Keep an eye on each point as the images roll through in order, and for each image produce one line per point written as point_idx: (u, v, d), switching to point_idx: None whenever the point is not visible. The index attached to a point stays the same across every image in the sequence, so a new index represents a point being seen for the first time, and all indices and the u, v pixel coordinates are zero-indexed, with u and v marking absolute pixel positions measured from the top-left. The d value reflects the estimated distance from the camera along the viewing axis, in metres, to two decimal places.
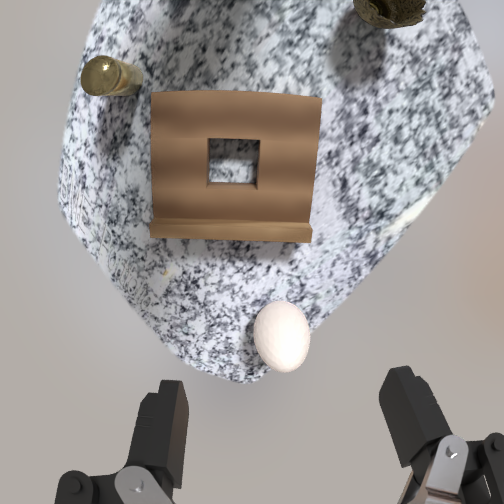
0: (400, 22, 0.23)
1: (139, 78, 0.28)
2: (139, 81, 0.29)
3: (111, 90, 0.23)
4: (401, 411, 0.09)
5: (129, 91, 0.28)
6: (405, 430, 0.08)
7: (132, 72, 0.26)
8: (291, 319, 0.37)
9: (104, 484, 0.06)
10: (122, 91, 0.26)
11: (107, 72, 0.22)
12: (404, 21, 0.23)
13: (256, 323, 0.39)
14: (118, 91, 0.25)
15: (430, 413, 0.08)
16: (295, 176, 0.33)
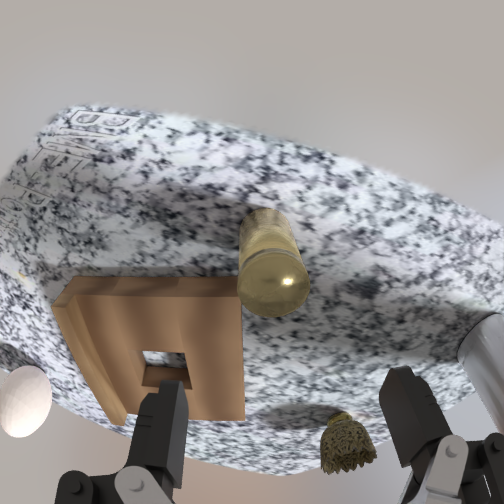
0: None
1: None
2: None
3: None
4: (401, 411, 0.09)
5: None
6: (405, 430, 0.08)
7: None
8: (42, 415, 0.27)
9: (104, 484, 0.06)
10: None
11: (276, 302, 0.17)
12: None
13: (21, 383, 0.26)
14: None
15: (430, 413, 0.08)
16: None
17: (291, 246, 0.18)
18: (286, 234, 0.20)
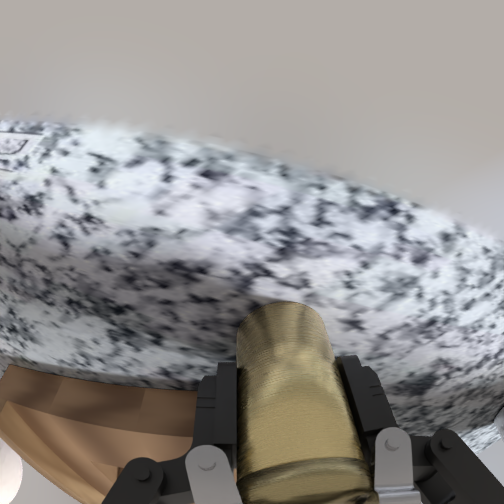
0: None
1: None
2: None
3: None
4: None
5: None
6: None
7: None
8: (13, 490, 0.16)
9: (170, 469, 0.07)
10: None
11: None
12: None
13: None
14: None
15: (372, 403, 0.09)
16: None
17: (345, 429, 0.07)
18: (331, 387, 0.09)
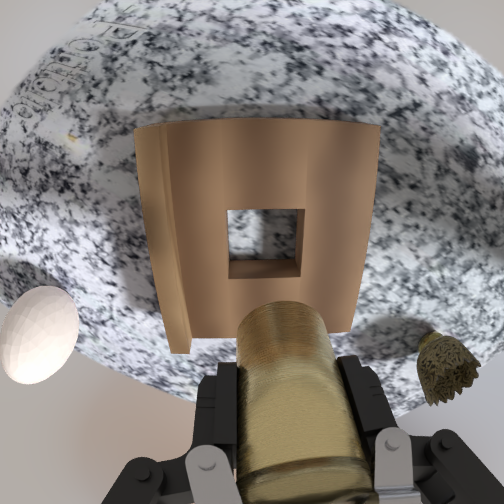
0: None
1: None
2: None
3: None
4: None
5: None
6: None
7: None
8: (65, 349, 0.22)
9: (171, 469, 0.07)
10: None
11: None
12: None
13: (40, 300, 0.22)
14: None
15: (372, 403, 0.09)
16: None
17: (345, 428, 0.07)
18: (332, 386, 0.09)
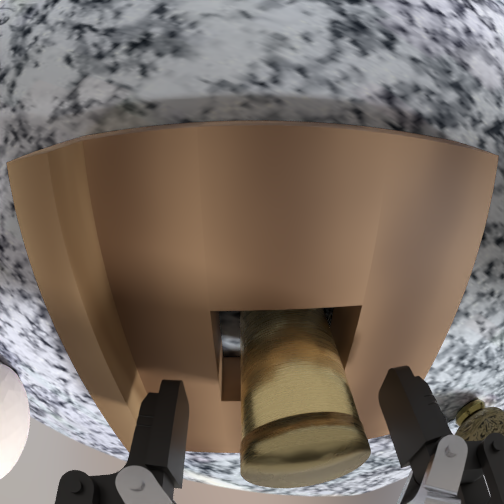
0: None
1: None
2: None
3: None
4: (400, 411, 0.09)
5: None
6: (404, 430, 0.08)
7: None
8: (12, 453, 0.12)
9: (105, 484, 0.06)
10: None
11: (307, 477, 0.08)
12: None
13: None
14: None
15: (429, 413, 0.08)
16: None
17: (340, 389, 0.09)
18: (327, 353, 0.10)
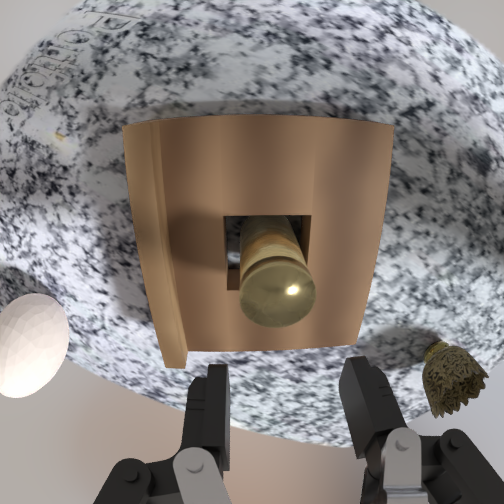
0: None
1: None
2: None
3: None
4: (355, 401, 0.10)
5: None
6: (358, 420, 0.09)
7: None
8: (54, 362, 0.20)
9: (159, 470, 0.07)
10: None
11: (280, 313, 0.16)
12: None
13: (27, 310, 0.20)
14: None
15: (382, 404, 0.09)
16: (252, 332, 0.24)
17: (296, 253, 0.17)
18: (290, 239, 0.18)
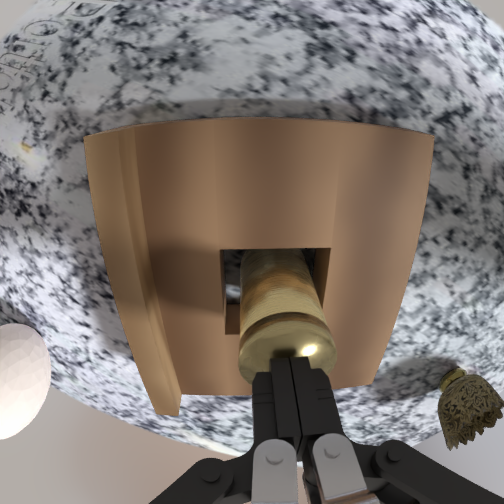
0: None
1: None
2: None
3: None
4: None
5: None
6: None
7: None
8: (34, 403, 0.16)
9: (236, 467, 0.07)
10: None
11: None
12: None
13: (1, 346, 0.16)
14: None
15: (316, 407, 0.09)
16: None
17: (312, 303, 0.13)
18: (304, 281, 0.14)
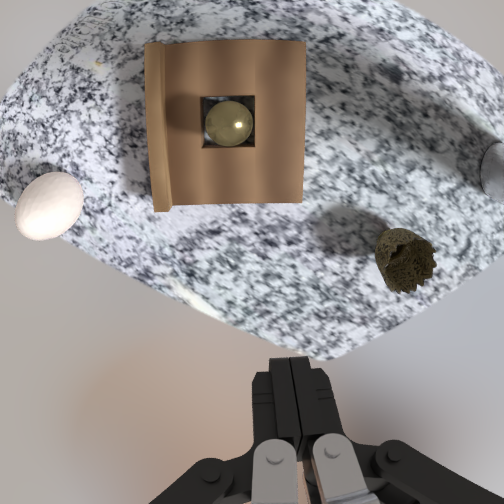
0: None
1: None
2: None
3: None
4: None
5: None
6: None
7: None
8: (69, 212, 0.29)
9: (236, 467, 0.07)
10: None
11: (230, 134, 0.25)
12: (385, 274, 0.36)
13: (57, 174, 0.28)
14: None
15: (316, 407, 0.09)
16: (219, 184, 0.32)
17: None
18: None
